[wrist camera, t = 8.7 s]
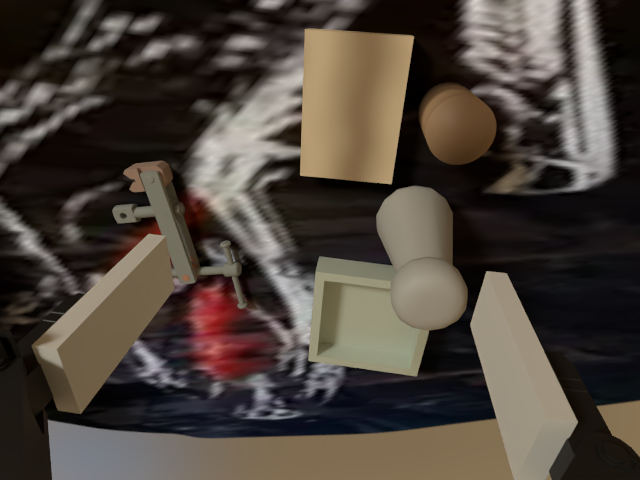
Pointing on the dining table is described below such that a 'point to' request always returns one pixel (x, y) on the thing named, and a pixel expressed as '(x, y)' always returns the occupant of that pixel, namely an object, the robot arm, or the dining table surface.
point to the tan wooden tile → (353, 103)
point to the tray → (361, 320)
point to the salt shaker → (422, 258)
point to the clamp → (172, 224)
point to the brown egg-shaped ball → (456, 123)
